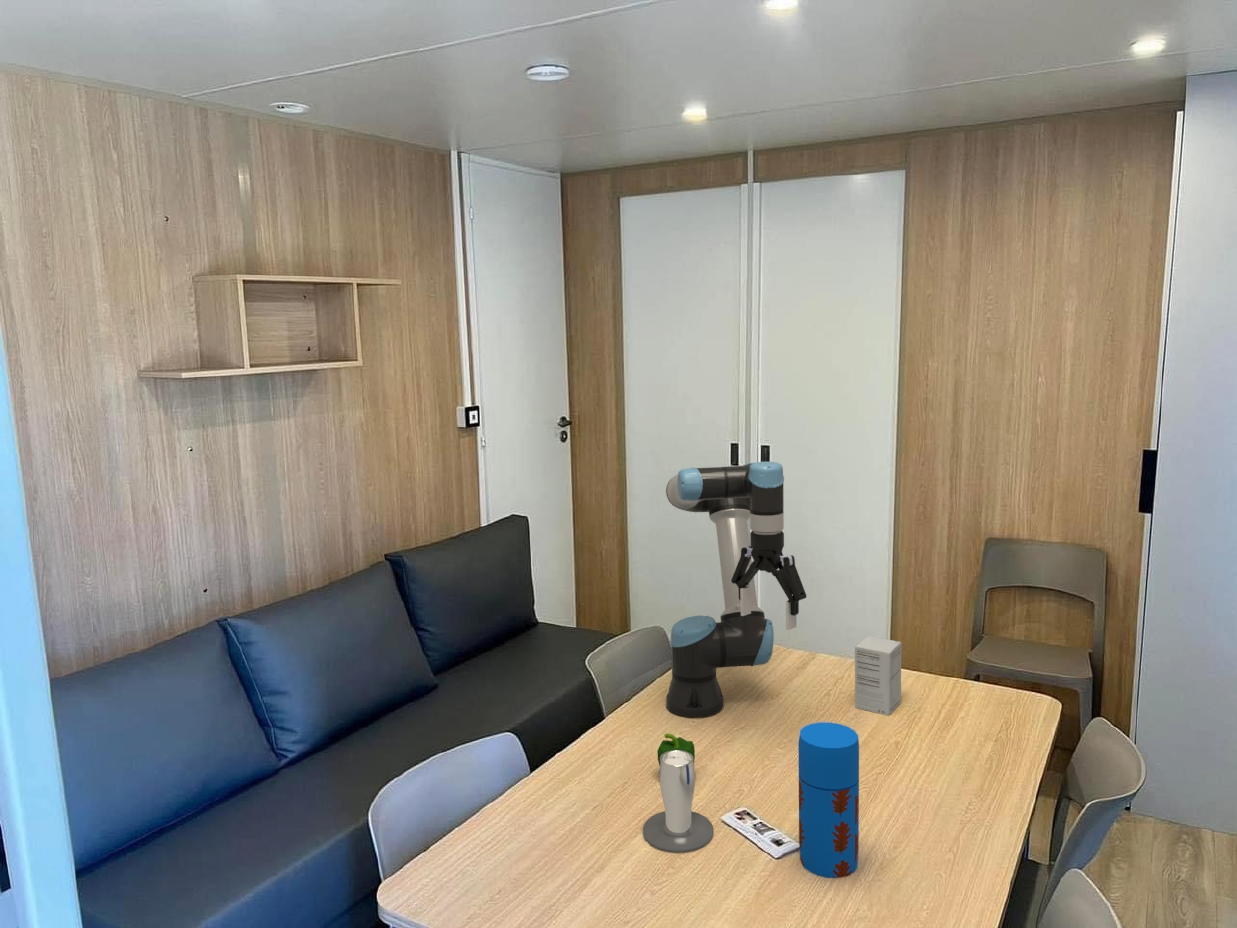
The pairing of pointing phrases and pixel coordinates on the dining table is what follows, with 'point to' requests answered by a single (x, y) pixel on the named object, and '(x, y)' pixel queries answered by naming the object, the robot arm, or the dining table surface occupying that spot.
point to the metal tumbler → (677, 791)
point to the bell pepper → (675, 746)
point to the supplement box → (878, 675)
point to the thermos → (829, 799)
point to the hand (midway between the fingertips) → (768, 621)
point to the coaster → (672, 844)
